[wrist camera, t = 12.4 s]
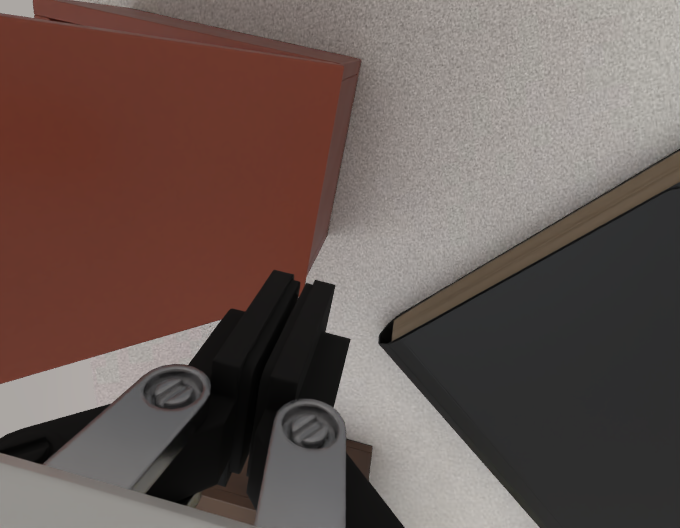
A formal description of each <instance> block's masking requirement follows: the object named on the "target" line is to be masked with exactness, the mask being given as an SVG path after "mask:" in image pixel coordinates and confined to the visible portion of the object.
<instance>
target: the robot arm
mask: <svg viewBox="0 0 680 528" xmlns="http://www.w3.org/2000/svg"><path fill="white" fill-rule="evenodd" d="M334 289H335V285H333V284H329V283H325V282H321V281H318V280H315V281H314V283H313V285H312V284H308V283H306V284H305V286H304V288H303V290H302V292H301V294H300V296H299V290H300V281H296V280H294V274H290V273H286V272H282V271H278V270H273V271H272V273H271V274H270V276H269V277H268V279H267V280H266V282H265V283H264V285H263V286H262V288H261V289H260V291H259V292H258V294H257V295H256V297H255V298H254V300H253V301H252V302H251V304H250V305H249V307H248V308H247V310H246V311H241V310H237V309H233V308H232V309H230V310H229V311H228V312H227V313H226V315H225V316H224V317H223V319H222V320H221V321H220V323H219V324H218V325H217V327H216V328H215V329H214V331H213V332H212V333H211V335H210V336H209V338H208V339H207V340H206V342H205V343H204V344H203V346H202V347H201V348H200V350H199V351H198V352H197V354H196V355H195V356H194V358H193V359H192V361H191V362H190V363H189V365H182V364H172V365H165V366H161V367H158V368H156V369H153V370H151V371H150V372H148V373H147V374H145V375H144V376H142V377H141V378H140V379H139V380H138V381H137V382H136V383H134V384H133V385H132V386H131V387H130V388H129V389H128V390H127V391H125V392H124V393H123V394H122V395H121V396H120V397H119V398H117V399H116V400H115V401H114V402H113V403H112V404H108V405H105V406H101V407H98V408H95V409H90V410H87V411H83V412H80V413H76V414H73V415H69V416H66V417H62V418H58V419H55V420H52V421H48V422H44V423H41V424H37V425H34V426H30V427H27V428H23V429H20V430H17V431H15V432H12V433H9V434H7V435H5V436H4V437H2V438H0V528H405V527H404V526H403V525H402V524H401V522H400V521H399V520H398V518H397V517H396V516H395V515H394V513H393V512H392V511H391V509H390V508H389V507H388V506H387V504H386V503H385V502H384V500H383V499H382V498H381V497H380V495H379V494H378V493H377V491H376V490H375V489H374V487H373V486H372V485H371V484H370V482H369V481H368V480H367V478H366V477H365V476H364V475H363V473H362V472H361V471H360V469H359V468H358V467H357V466H356V464H355V463H354V462H353V460H352V459H351V458H350V457H349V455H348V454H347V453H346V428H345V422H344V420H343V419H342V417H341V415H340V414H339V413H338V412H337V411H336V410H335V409H334V408H333V407H334V403H335V399H336V395H337V391H338V387H339V383H340V379H341V375H342V371H343V367H344V363H345V359H346V355H347V351H348V347H349V343H350V339H349V338H345V337H341V336H337V335H333V334H329V333H326V332H325V331H326V327H327V322H328V317H329V313H330V308H331V304H332V299H333V294H334ZM298 296H299V298H298ZM248 455H249V459H248V466H247V473H246V476H247V477H248V484H247V491H246V493H247V495H248V497H249V499H250V500H251V502H252V504H253V506H254V508H255V510H256V516H255V522H254V526H253V525H250V524H246V523H243V522H240V521H236V520H233V519H229V518H226V517H222V516H219V515H215V514H212V513H209V512H205V511H202V510H198V509H195V508H196V506H197V505H198V503H199V501H200V499H201V497H202V491H203V490H206V489H208V488H210V487H213V486H215V485H220V486H223V487H226V485H227V483H228V481H229V478H230V476H231V474H232V473H236V474H240V473H241V471H242V469H243V467H244V464H245V462H246V460H247V457H248Z"/></svg>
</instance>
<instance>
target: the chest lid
mask: <svg viewBox="0 0 680 528" xmlns="http://www.w3.org/2000/svg"><path fill="white" fill-rule="evenodd" d="M343 73H344V66H343V65H341V64H337V63H334V62H327V61H320V60H314V59H307V58H300V57H293V56H287V55H280V54H273V53H266V52H259V51H253V50H246V49H239V48H232V47H226V46H219V45H212V44H205V43H199V42H192V41H185V40H178V39H171V38H165V37H158V36H151V35H144V34H138V33H131V32H124V31H117V30H110V29H104V28H97V27H90V26H83V25H77V24H70V23H63V22H56V21H49V20H43V19H36V18H29V17H22V16H15V15H9V14H2V13H0V384H2V383H5V382H9V381H12V380H16V379H19V378H23V377H26V376H29V375H32V374H36V373H40V372H43V371H47V370H50V369H53V368H57V367H60V366H63V365H67V364H70V363H74V362H77V361H81V360H84V359H88V358H91V357H95V356H98V355H101V354H105V353H108V352H112V351H115V350H118V349H122V348H125V347H129V346H132V345H136V344H139V343H142V342H146V341H149V340H153V339H156V338H160V337H163V336H166V335H170V334H173V333H177V332H180V331H184V330H187V329H190V328H194V327H197V326H201V325H204V324H207V323H211V322H214V321H218V320H221V319H223V317H224V316H225V315H226V313H227V312H228V311H229V310H230V309H232V308H233V309H237V310H241V311H246V310H247V308H248V307H249V305H250V304H251V302H252V301H253V300H254V298H255V297H256V295H257V294H258V292H259V291H260V289H261V288H262V286H263V285H264V283H265V282H266V280H267V279H268V277H269V276H270V274H271V273H272V271H273V270H278V271H282V272H286V273H290V274H294V280H296V281H300V290H299V296H300V294H301V292H302V290H303V288H304V286H305V282H306V276H307V271H308V265H309V260H310V254H311V249H312V243H313V238H314V232H315V227H316V221H317V216H318V210H319V205H320V199H321V194H322V188H323V183H324V177H325V172H326V166H327V161H328V155H329V150H330V144H331V139H332V133H333V128H334V122H335V117H336V111H337V106H338V100H339V95H340V89H341V84H342V78H343ZM299 296H298V297H299Z"/></svg>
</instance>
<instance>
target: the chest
mask: <svg viewBox="0 0 680 528" xmlns="http://www.w3.org/2000/svg"><path fill="white" fill-rule="evenodd" d="M33 8H34V14H35V16H34V18H36V19H43V20H49V21H56V22H63V23H70V24H77V25H83V26H90V27H97V28H104V29H110V30H117V31H124V32H131V33H138V34H144V35H151V36H158V37H165V38H171V39H178V40H185V41H192V42H199V43H205V44H212V45H219V46H226V47H232V48H239V49H246V50H253V51H259V52H266V53H273V54H280V55H287V56H293V57H300V58H307V59H314V60H320V61H327V62H334V63H337V64H341V65H343V66H344V73H343V78H342V84H341V89H340V95H339V100H338V106H337V111H336V117H335V122H334V128H333V133H332V139H331V144H330V150H329V155H328V161H327V166H326V172H325V177H324V183H323V188H322V194H321V199H320V205H319V210H318V216H317V221H316V227H315V232H314V238H313V243H312V249H311V254H310V260H309V265H308V271H307V275H308V273H309V271H310V269H311V267H312V265H313V263H314V261H315V259H316V257H317V255H318V253H319V251H320V249H321V247H322V245H323V243H324V241H325V239H326V237H327V234H328V229H329V224H330V219H331V214H332V208H333V203H334V198H335V193H336V188H337V183H338V178H339V173H340V168H341V163H342V157H343V152H344V147H345V142H346V137H347V132H348V127H349V122H350V117H351V111H352V106H353V101H354V96H355V91H356V86H357V81H358V76H359V71H360V66H361V59H359V58H354V57H349V56H345V55H340V54H336V53H331V52H327V51H322V50H318V49H313V48H309V47H304V46H299V45H295V44H290V43H286V42H281V41H277V40H272V39H268V38H263V37H259V36H254V35H249V34H245V33H240V32H236V31H231V30H227V29H222V28H218V27H213V26H209V25H204V24H200V23H195V22H190V21H186V20H181V19H177V18H172V17H168V16H163V15H159V14H154V13H150V12H145V11H140V10H136V9H131V8H125V7H118V6H110V5H102V4H95V3H87V2H79V1H72V0H33ZM306 277H307V276H306Z"/></svg>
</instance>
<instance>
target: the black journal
mask: <svg viewBox="0 0 680 528" xmlns="http://www.w3.org/2000/svg"><path fill="white" fill-rule="evenodd" d="M379 345H380V346H381V347H382V348H383V349H384V350H385V352H386V353H387V354H388V355H389V356H390V357H391V358H392V360H393V361H394V362H395V363H396V364H397V365H398V366H399V368H400V369H401V370H402V371H403V372H404V373H405V374H406V375H407V377H408V378H409V379H410V380H411V381H412V382H413V383H414V385H415V386H416V387H417V388H418V389H419V390H420V391H421V393H422V394H423V395H424V396H425V397H426V398H427V399H428V401H429V402H430V403H431V404H432V405H433V406H434V407H435V409H436V410H437V411H438V412H439V413H440V414H441V415H442V417H443V418H444V419H445V420H446V421H447V422H448V423H449V425H450V426H451V427H452V428H453V429H454V430H455V431H456V432H457V434H458V435H459V436H460V437H461V438H462V439H463V440H464V442H465V443H466V444H467V445H468V446H469V447H470V448H471V450H472V451H473V452H474V453H475V454H476V455H477V456H478V458H479V459H480V460H481V461H482V462H483V463H484V464H485V466H486V467H487V468H488V469H489V470H490V471H491V472H492V474H493V475H494V476H495V477H496V478H497V479H498V480H499V482H500V483H501V484H502V485H503V486H504V487H505V488H506V490H507V491H508V492H509V493H510V494H511V495H512V496H513V497H514V499H515V500H516V501H517V502H518V503H519V504H520V505H521V507H522V508H523V509H524V510H525V511H526V512H527V513H528V515H529V516H530V517H531V518H532V519H533V520H534V521H535V523H536V524H537V525H538V526H539V527H540V528H680V149H679V150H678V151H676V152H674V153H673V154H671V155H669V156H667V157H666V158H664V159H662V160H661V161H659V162H657V163H656V164H654V165H652V166H651V167H649V168H647V169H645V170H644V171H642V172H640V173H639V174H637V175H635V176H634V177H632V178H630V179H629V180H627V181H625V182H623V183H622V184H620V185H618V186H617V187H615V188H613V189H612V190H610V191H608V192H606V193H605V194H603V195H601V196H600V197H598V198H596V199H595V200H593V201H591V202H590V203H588V204H586V205H584V206H583V207H581V208H579V209H578V210H576V211H574V212H573V213H571V214H569V215H567V216H566V217H564V218H562V219H561V220H559V221H557V222H556V223H554V224H552V225H551V226H549V227H547V228H545V229H544V230H542V231H540V232H539V233H537V234H535V235H534V236H532V237H530V238H529V239H527V240H525V241H523V242H522V243H520V244H518V245H517V246H515V247H513V248H512V249H510V250H508V251H506V252H505V253H503V254H501V255H500V256H498V257H496V258H495V259H493V260H491V261H489V262H488V263H486V264H484V265H483V266H481V267H479V268H478V269H476V270H474V271H473V272H471V273H469V274H467V275H466V276H464V277H462V278H461V279H459V280H457V281H456V282H454V283H452V284H450V285H449V286H447V287H445V288H444V289H442V290H440V291H439V292H437V293H435V294H434V295H432V296H430V297H428V298H427V299H425V300H423V301H422V302H420V303H418V304H417V305H415V306H413V307H411V308H410V309H408V310H406V311H405V312H403V313H401V314H400V315H399V316H397V317H396V318H395V319H393V320H392V321H391V322H390V323H389V324H388V325H387V326H386V327H385V328H384V329H383V331H382V332H381V333H380V335H379Z"/></svg>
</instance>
